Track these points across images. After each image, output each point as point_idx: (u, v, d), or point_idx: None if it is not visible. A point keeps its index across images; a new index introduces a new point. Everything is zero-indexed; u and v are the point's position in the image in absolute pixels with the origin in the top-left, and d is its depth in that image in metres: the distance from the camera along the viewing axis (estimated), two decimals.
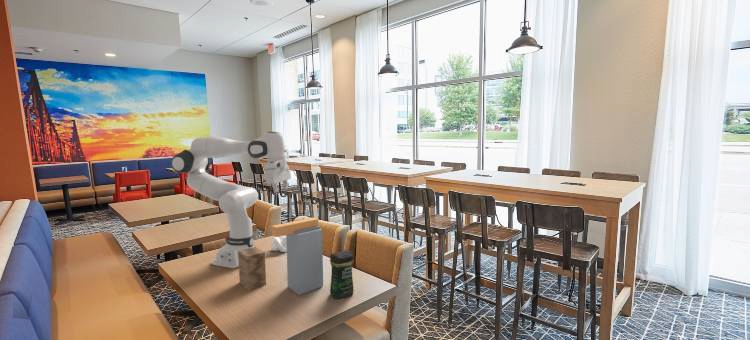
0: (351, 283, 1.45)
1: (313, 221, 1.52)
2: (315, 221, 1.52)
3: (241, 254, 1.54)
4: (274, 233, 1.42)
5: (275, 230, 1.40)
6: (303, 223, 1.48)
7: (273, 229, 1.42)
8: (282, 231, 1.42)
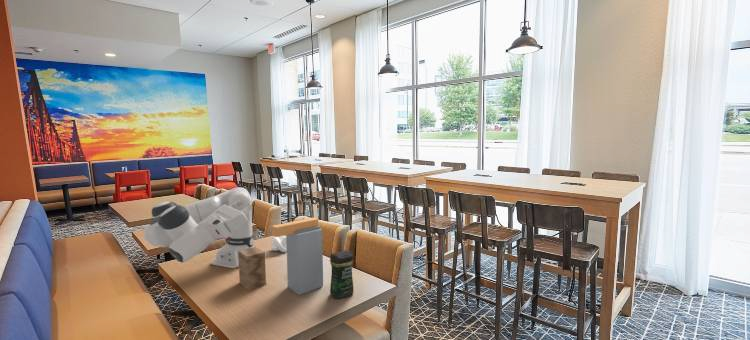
0: (351, 283, 1.45)
1: (313, 221, 1.52)
2: (315, 221, 1.52)
3: (241, 254, 1.54)
4: (274, 233, 1.42)
5: (275, 230, 1.40)
6: (303, 223, 1.48)
7: (273, 229, 1.42)
8: (282, 231, 1.42)
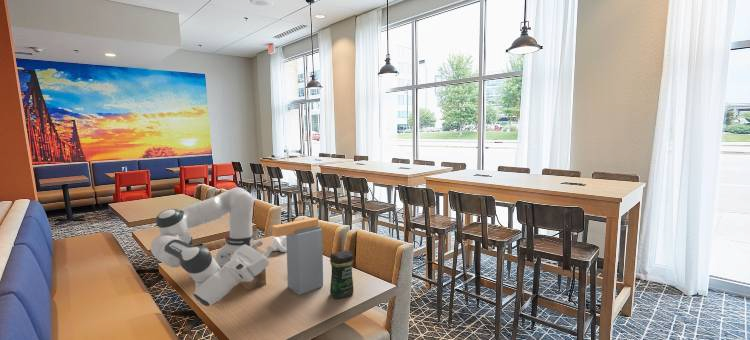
0: (351, 283, 1.45)
1: (313, 221, 1.52)
2: (315, 221, 1.52)
3: None
4: (274, 233, 1.42)
5: (275, 230, 1.40)
6: (303, 223, 1.48)
7: (273, 229, 1.42)
8: (282, 231, 1.42)
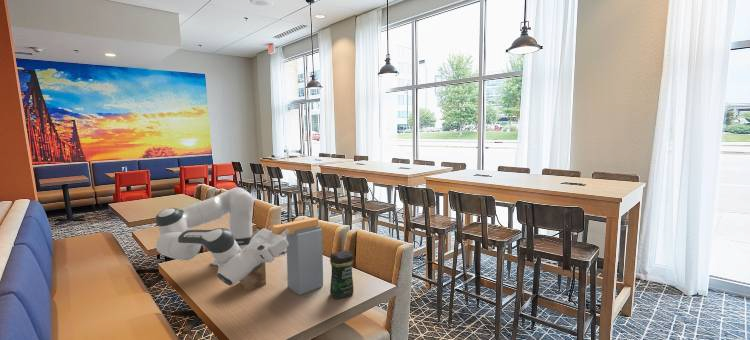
0: (351, 283, 1.45)
1: (313, 221, 1.52)
2: (315, 221, 1.52)
3: None
4: None
5: (275, 230, 1.40)
6: (303, 223, 1.48)
7: (273, 229, 1.42)
8: (282, 231, 1.42)
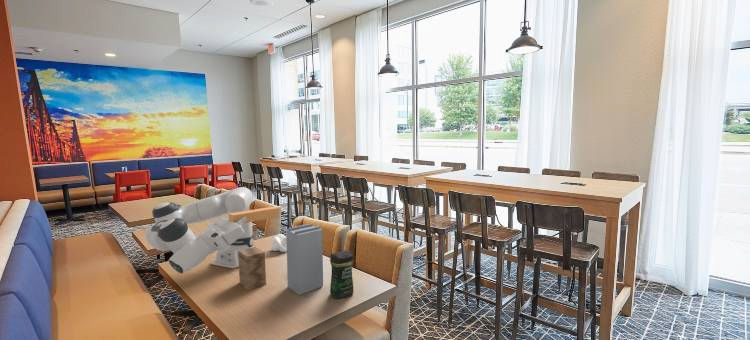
0: (351, 283, 1.45)
1: (273, 210, 1.50)
2: (275, 210, 1.50)
3: (241, 254, 1.54)
4: None
5: (232, 218, 1.38)
6: (262, 211, 1.46)
7: (230, 217, 1.39)
8: (239, 219, 1.39)
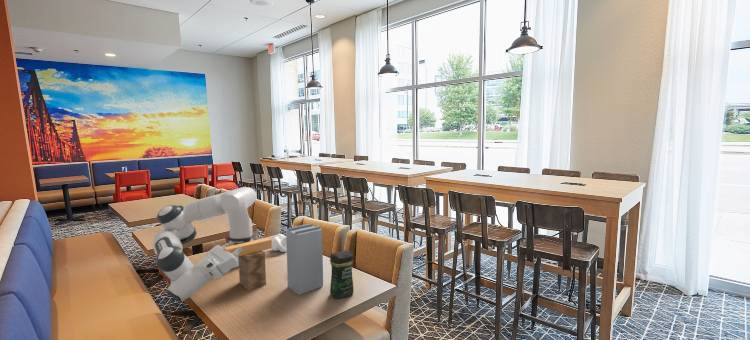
0: (351, 283, 1.45)
1: (266, 242, 1.58)
2: (268, 242, 1.59)
3: None
4: None
5: None
6: (255, 244, 1.55)
7: None
8: None
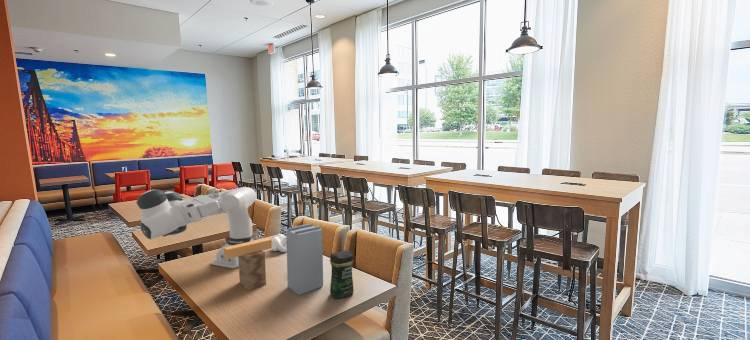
0: (351, 283, 1.45)
1: (266, 242, 1.58)
2: (268, 242, 1.59)
3: None
4: (225, 255, 1.48)
5: (226, 252, 1.47)
6: (255, 244, 1.55)
7: (225, 251, 1.48)
8: (233, 253, 1.48)
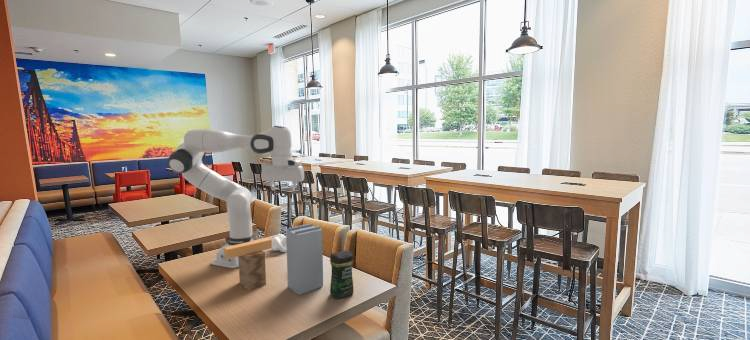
0: (351, 283, 1.45)
1: (266, 242, 1.58)
2: (268, 242, 1.59)
3: None
4: (225, 255, 1.48)
5: (226, 252, 1.47)
6: (255, 244, 1.55)
7: (225, 251, 1.48)
8: (233, 253, 1.48)
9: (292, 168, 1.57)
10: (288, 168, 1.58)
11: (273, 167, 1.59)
